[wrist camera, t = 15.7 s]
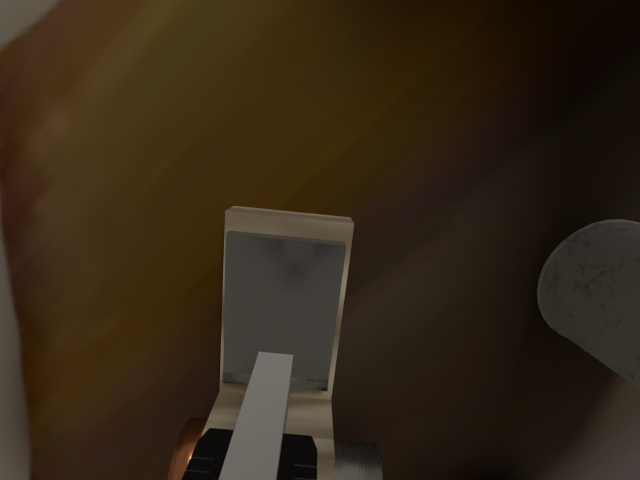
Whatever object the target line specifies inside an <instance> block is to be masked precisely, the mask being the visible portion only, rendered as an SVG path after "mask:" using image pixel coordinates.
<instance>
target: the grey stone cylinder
mask: <svg viewBox="0 0 640 480" xmlns="http://www.w3.org/2000/svg"><path fill="white" fill-rule="evenodd" d="M536 293H537V302H538V307H539V309H540V312H541V314H542V317H543V318H544V320H545V321H546V322H547V324H548V325H549V326H550V327H551V328H552V329H553V330H555V331H556V332H557V333H559V334H560V335H562V336H564V337H566V338H568V339H569V340H571V341H572V342H574V343H575V344H576V345H578V346H579V347H581V348H582V349H583V350H585V351H586V352H588V353H589V354H590V355H592V356H593V357H595V358H596V359H597V360H599V361H600V362H602V363H603V364H604V365H606V366H607V367H609V368H610V369H612V370H613V371H614V372H616V373H617V374H619V375H620V376H621V377H623V378H624V379H626V380H627V381H628V382H630V383H631V384H633V385H634V386H635V387H637V388H638V389H640V223H638V222H634V221H628V220H623V219H615V220H604V221H600V222H596V223H592V224H589V225H587V226H585V227H583V228H581V229H579V230H577V231H575V232H573V233H572V234H571V235H569V236H568V237H567V238H565V239H564V240H563V241H562V242H561V243H560V244H559V245H558V246H557V247H556V248H555V249H554V250H553V251H552V252H551V254H550V255H549V257H548V259H547V260H546V262H545V263H544V265H543V267H542V270H541V273H540V275H539V278H538V284H537V292H536Z"/></svg>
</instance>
